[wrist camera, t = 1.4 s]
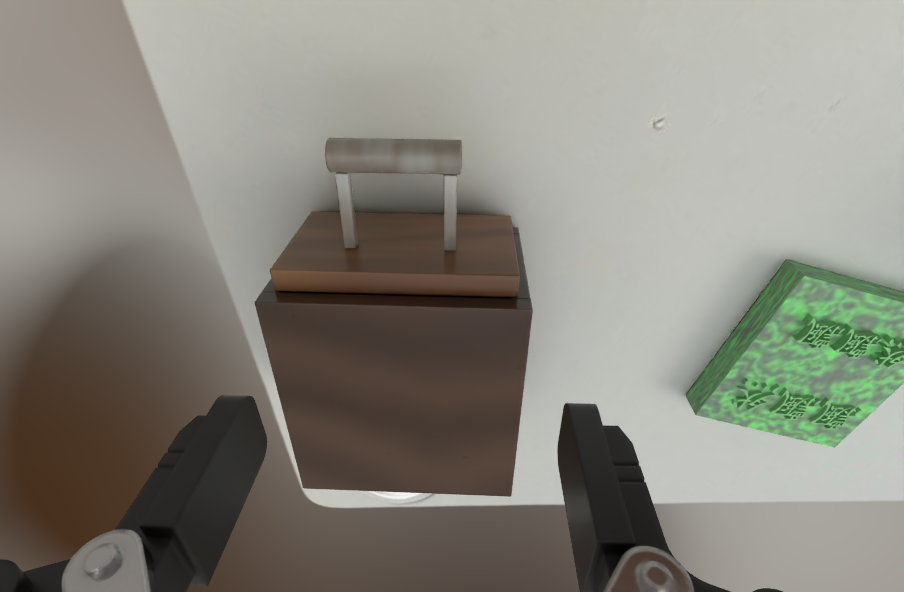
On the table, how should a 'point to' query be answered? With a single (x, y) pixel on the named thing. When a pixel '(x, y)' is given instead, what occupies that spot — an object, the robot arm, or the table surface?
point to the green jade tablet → (807, 357)
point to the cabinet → (401, 387)
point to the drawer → (399, 234)
